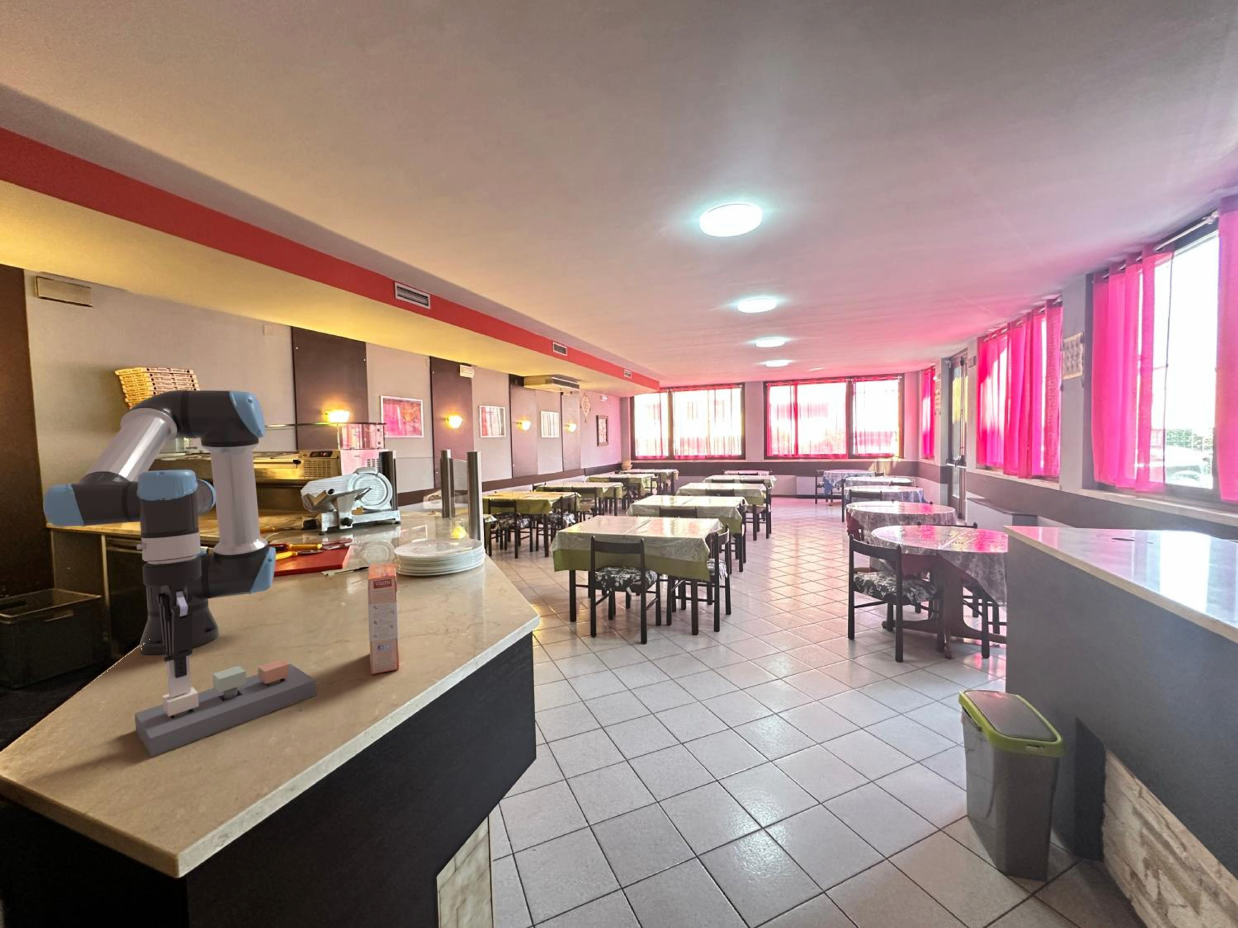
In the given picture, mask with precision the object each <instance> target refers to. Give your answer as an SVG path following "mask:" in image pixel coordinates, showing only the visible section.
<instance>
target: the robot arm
mask: <svg viewBox="0 0 1238 928" xmlns="http://www.w3.org/2000/svg"><path fill="white" fill-rule="evenodd" d="M265 435H266V423H265V417H264V412H263V409H262V406H261V403H260V401H259V399H258V397H256V395H255V394H254V393H253V392H250V391H241V390H233V389H232V390H216V389H215V390H204V389H203V390H198V389H197V390H196V389H194V390H191V389H189V390H188V389H175V390H168V391H164V392H161V393H158V394H155V395H152V396H150V397H148V398H145V399H144V400H142V401H139V402H138V403H137V404H135V405H134V406H132V407H131V408H129V409H128V411H127V412H126V413H125V414H124V415H123V417H122V418H121V421H120V430H119V431H118V432H117V433H116V435H115V436H114V437H113V439H112V440H110V442H109V444H108V445H107V446H106V447H105V448H104V450H103V451H102V452H101V454H100V455H99V456H98V458H97V459H95V461H94V463H93V464H92V465H91V466H90V467H89V469H88V470H87V471H86V472H85V473H84V475H83V476H82V478H80V479H79V481H78V482H77V483H71V482H68V483H64V484H55V485H53V486H50V487H49V488H48V489H47V491H46V492H45V494H44V498H43V503H42V506H43V512H44V515H45V518H46V520H47V521H48V522H49V523H50V524H51V525H53V526H55V527H81V528H83V527H88V526H102V525H113V524H127V523H139V526H140V527H139V528H140V537H141V542H142V543H138V544H136V550H141V554H142V555H141V556H142V560H143V561H144V562H145V563H144V564H143V565H142V580H143V581H142V582H143V584H144V586H145V590H146V600H147V601H146V604H147V606H146V607H147V622H146V624H145V627H144V630H143V633H142V635H141V638H140V642H139V650H140V649H141V648H142V650H141V651H140V653H141V654H143V655H162V654H165V656H164V657H163V661H164V663H166V668H167V669H166V670H167V685H168V687H167V688H168V690H167V691H168V694H169V696H170V697H171V698H172V697H175V696H178V695H181V694H184V693H188V692H191V687H192V683H191V682H192V681H191V666H190V665H191V664H190V656H191V655H193V652H194V651H193V648H196V647H199V646H203V645H206V644H208V643H210V642H213V641H214V640H215V639H217V638H218V637H219V635H220V633H219V631H220V630H219V625H218V623H217V620H216V619H215V617H214V615H213V614H212V611H211V609H210V607H209V599H217V598H223V597H231V596H242V595H252V594H255V593H259V592H265V591H267V590H268V589H270V588H271V586H272V584H273V580H274V575H275V569H276V560H277V559H276V557H277V552H276V550H277V549H276V548H275V547H272V546H269V542H268V540H267V539H266V538H264V537H262V536H261V529H260V519H259V509H258V508H259V507H258V497H257V486H256V485H257V484H256V477H255V476H256V475H255V474H256V473H255V465H254V464H255V463H254V455H253V454H254V452H253V451H254V449H255V448H256V447H257V446H258V445H259V444H260V441H259V440H260V439H259V438H263V437H265ZM185 438H186V439H187V438H188V439H199V440H200V445H201V447H203V448H204V449H206V450H207V451H208V452H209V453H210V455H209V456H210V463H211V472H212V480H213V481H212V483H213V486H212V484H211V483H210V482H208V481H206V480H203V479H201V478H197V477H196V473H195V472H194V471H193V470H191V469H168V470H167V469H166V470H165V469H164V470H150V468H151V466H152V465H153V463H154V461H155V460H156V458H157V457H158V455H159V454H160V451H161V450H162V448H163V447H164V446H166V445H168V444H170V443H171V442H173V441H174V439H185ZM214 506H215V509H216V521H217V528H218V536H219V541H218V543H216V544H215V545H214V547H213V548H212V549H213V550H212V551H213V553H207V551H206V549H205V548H204V547H203V548H202V547H201V533H200V532H201V531H200V529H199V517H200V516H203V515H205V514H206V513H209V511H210V510H211V509H212V508H213V507H214ZM149 639H150V640H149ZM143 643H145V644H144V645H143ZM141 645H142V647H141V648H140V646H141Z"/></svg>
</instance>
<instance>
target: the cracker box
mask: <svg viewBox="0 0 1238 928" xmlns="http://www.w3.org/2000/svg"><path fill="white" fill-rule="evenodd" d="M395 564H396V563H385V564H378V565H371V566H368V575H367V601H368V603H367V605H368V607H367V608H368V632H369V633H368V635H369V656H370V657H369V663H370V674H371V675H377V674H381V673H386V672H387V673H388V672H393V671H397V670H399V669H400V651H399V650H400V647H399V646H400V645H399V644H400V642H399V610H398V606H399V605H398V583H397V582H398V580H397V572H396V565H395Z"/></svg>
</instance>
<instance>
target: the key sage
mask: <svg viewBox="0 0 1238 928" xmlns="http://www.w3.org/2000/svg"><path fill="white" fill-rule="evenodd" d="M246 678H247V671H246V670H245V669H244V668H242V667H241V666H240V665H237V666H234V667H230V668H226V669H224V670H221V671H216V672H213V673H212V684H213V685H212V686H213V688H216V689H217V690H218V691H219V692H223V693H224V701H226V700H229V699H232V698H235V697H237V687H238V686H241V685H244V684H246Z"/></svg>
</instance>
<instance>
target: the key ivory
mask: <svg viewBox="0 0 1238 928" xmlns="http://www.w3.org/2000/svg"><path fill="white" fill-rule="evenodd" d="M198 693H199V692H198V691H197V690H196V689H195V688H194V687H193V686H191V692H188V693H184V694H181V695H178V696H175V697H172V698H171V697H170V696H169V693H167V694H164V695H162V704H163V710H164V711H165V712H166V714H167V715H168V716H171V715H174V718H175V717H178V716H181V715H184V714H187V713H189V709H192V708H195V707H198V706H199V700H198Z"/></svg>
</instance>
